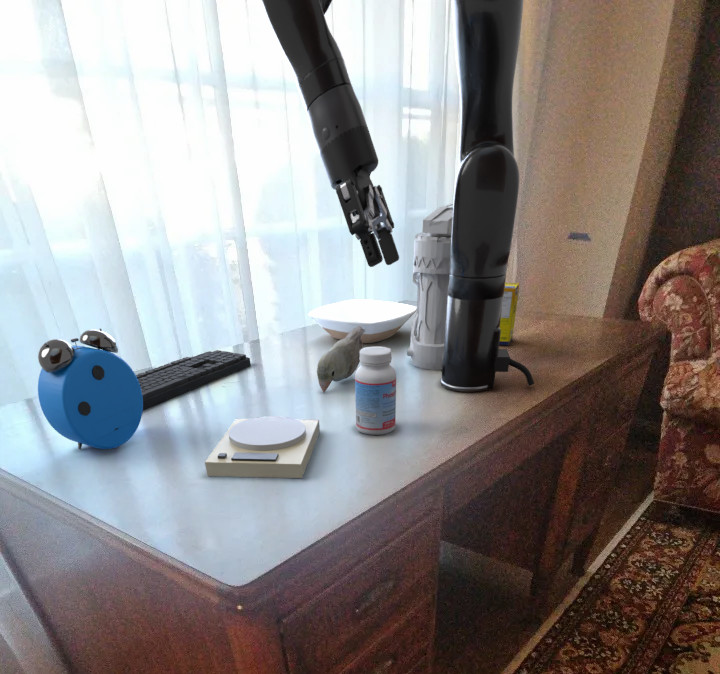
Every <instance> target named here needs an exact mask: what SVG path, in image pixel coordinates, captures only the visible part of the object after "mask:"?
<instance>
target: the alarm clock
mask: <svg viewBox="0 0 720 674" xmlns="http://www.w3.org/2000/svg"><path fill="white" fill-rule="evenodd" d="M70 342H71V343H74V344H75V345H72V344H70ZM70 342H68V341H67V340H65V339H61V338H54V339H53V338H52V339H50V340H47V341H46V342H44V344H42V345H41V347H40V348H39V350H38V354H37V359H38V363H39V366H40V369H41V370H40V373H39V376H38V380H37V381H38V382H37V396H38V402H39V405H40V408H41V411H42V413H43V416H44V417H45V419H46V421H47V423H49V425H50V426H51V427H52V428H53V430H55V432H57V433H58V434H59V435H61V436H62V437H64V438H65V439H68V440H70V441H72V442H75V443H77V448H78V450H82V446H83V445H85V446H89V447H91V448H96V449H99V450H100V449H101V450H110V449H111V450H112V449H117V448H119V447H120V446H123V445H125V444H126V443H127V442H128V441H129V440H130V439H131V438H132V437H133V436H134V435H135V433H136V432H137V430H138V428H139V426H140V424H141V420H142V417H143V412H144V410H143V397H142V391H141V387H140V384H139V381H138V379H137V377H136V375H137V374H136V373H135V371H134V370H133V368H132V367H131V366H130V365H129V363H128V362H126V361H125V360H124V359H123V358H122V357H121V356H119V355H118V353H119V347H118V343H117V342H116V340H115V338H113V337H112V335H110V334H109V333H107V332H105V331H103V329H102V328H99V329H93V328H92V329H87V330H85V331H83V332H82V333H81V335H80V337H79V338H78V337H76V338H72V339H70ZM77 342H79V343H80V344H83V345H77ZM84 345H85V346H84Z"/></svg>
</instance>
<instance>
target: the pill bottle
mask: <svg viewBox="0 0 720 674" xmlns="http://www.w3.org/2000/svg"><path fill="white" fill-rule="evenodd" d="M392 351H393V350H392V348H389V347H386V346H375V345H374V346H367V347H363V348H362V349H361V350H360V358H359V359H360V362H359V363H360V364H361V365H360V366H359V367H357V368H356V370H355V372H354V373H355V374H354V387H355V388H354V390H355V392H354V393H355V397H354V398H355V428H356V430H358V432H360V433H362V434H364V435H377V436H379V435H386V434H389V433H391V432H392V431H393V430H395V428H396V410H397V409H396V408H397V372H396V370H395V368H394V367H393V366H392V365H390V364H391V362H392V360H393V358H392V357H393V356H392V354H393V353H392Z"/></svg>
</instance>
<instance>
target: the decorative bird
mask: <svg viewBox="0 0 720 674" xmlns="http://www.w3.org/2000/svg"><path fill="white" fill-rule="evenodd" d="M364 331H365V330H364V329H362V327H360V326H359V327H357V328H354V329H353V330H352V331H350V332H349V334H348V335H347V336H346V338H343V339H341V340H340V339H338V341H336V342H335V343H334V344H333V345H332V347H331V348H330V350H328V351H326V352H325V353H324V354H323V355H322V356H320V358H319V360H318V363H317V367H316V376H317V380H318V384H319V387H320V390H321V391H322V393H325V392H326V391H327V389H329V387H330V385H331V384H332V382H340V381H344V380H346V379H348V378H350V377H351V376H352V375H353V374H354V373H356V370H357V369H358V368H359V367H358V366H359V364H360V363H361V362H360V359H359V358H360V350H361V349H363V348H364V347H363V346H364V345H363V343H362V340H361V336H362V335H363V333H364Z"/></svg>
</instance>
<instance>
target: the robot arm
mask: <svg viewBox="0 0 720 674" xmlns="http://www.w3.org/2000/svg"><path fill="white" fill-rule="evenodd" d="M261 2H262V3H261V4H262V6H263V9H264V12H265V14H266V17H267V18H268V19H267V20H268V21H269V24H270V26H271V29H272V30H273V32H274V34H275V37H276V39H277V41H278V44H279V46H280V48H281V50H282V52H283V54H284V55H285V58H286V60H287V62H288V64H289V66H290V69H291V71H292V74H293V77H294V81H295V84H296V87H297V91H298V93H299V95H300V99H301V101H302V105H303V107H304V110H305V112H306V115H307V118H308V122H309V126H310V130H311V131H310V132H311V133H312V134H311V135H312V137H313V140H314V143H315V146H316V148H317V150H318V154H319V157H320V159H321V163H322V165H323V167H324V171H325V174H326V176H327V179H328V182H329V185H330V187H331V189H332V190H335V193H336V195H337V199H338V202H339V204H340V207H341V210H342V213H343V216H344V219H345V221H346V225H347V228H348V231H349V233H350V235H351V236H353V235H354V236H355V238H356V239H357V241H359V243H360V246H361V249H362V251H363V255H364V258H365V260H366V262H367V266H368V267H369V268H374V267H376V266H377V265H379V264H381V263H382V262H383V260H384V263H385V265H386V266H391V265H393V264H394V263H397V262H398V261H399V260H400V255H399V252H398V249H397V246H396V243H395V240H394V237H393V234H392V233H393V229H395V223H394V221H393V217H392V215H391V212H390V208H389V206H388V203H387V200H386V197H385V194H384V191H383V187H382V186H381V185H380V184H378V185H374V184H373V180H372V179H371V174H372V172H375V170H376V169H377V167H378V165H379V157H378V155H377V152H376V149H375V146H374V142H373V140H372V136H371V133H370V129H369V127H368V124H367V121H366V118H365V114H364V112H363V109H362V106H361V102H360V101H359V99H358V97H357V95H356V92H355V89H354V86H353V84H352V81H351V78H350V74H349V71H348V68H347V66H346V62H345V59H344V56H343V53H342V51H341V49H340V47H339V45H338V43H337V41H336V39H335V37H334V35H332V33H331V30H330V29H329V25H328V22H327V19H326V16H325V15H326V14H327V12H328V11H329V8H330V6H331V4H332V2H333V0H261ZM523 11H524V0H451V15H452V16H451V17H452V31H453V32H452V33H453V43H454V53H455V63H456V71H457V79H458V87H459V96H460V97H459V98H460V129H459V130H460V132H459V133H460V134H459V149H458V164H457V172H456V177H455V184H454V193H453V204H454V205H452V207H453V220H452V235H451V247H450V267H449V282H448V296H447V310H446V324H445V338H444V352H443V366H442V368H441V369H440V373H441V378H440V385H441V386H442V387H443V388H445V389H447V390H450V391H455V392H462V393H477V392H482V391H483V392H484V391H486V390H494V387H495V381H496V373H508V372H509V367H510V366H511V367H513V368H515V369H517V370H519V372H521V373H522V374H523V375H524V376H525V379H526V381H527V384H528V387H532V386H533V385H534V384H535V381H534V378H533V376H532V373H531V371H530V370H529V369H528V367H526V365H524V364H523V363H521V362H519V361H516V360H514V359H512V358H511V356H510V353H509V351H508V349H507V348H500V345H499V343H500V335H501V330H500V320H501V312H502V305H503V297H504V289H505V283H506V279H507V272H508V266H509V265H508V264H509V259H510V255H511V250H512V244H513V243H512V242H513V237H514V234H513V233H514V227H515V221H516V213H517V207H518V198H519V191H520V170H519V165H518V162H517V160H516V158H515V148H514V127H513V126H514V125H513V94H514V91H513V90H514V82H515V76H516V75H515V74H516V67H517V61H518V53H519V47H520V41H521V40H520V39H521V31H522V21H523V13H524V12H523ZM381 223H382V224H381Z"/></svg>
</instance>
